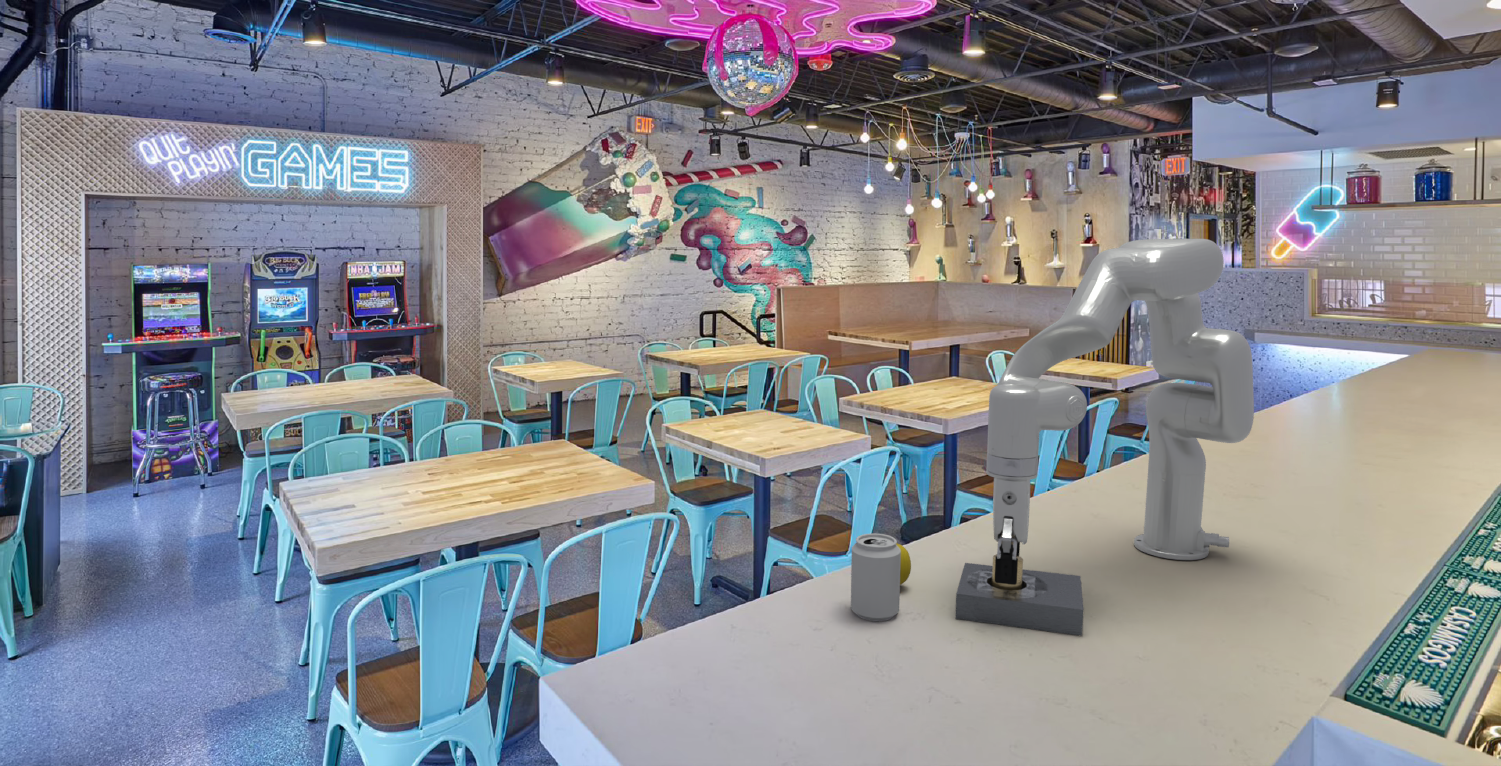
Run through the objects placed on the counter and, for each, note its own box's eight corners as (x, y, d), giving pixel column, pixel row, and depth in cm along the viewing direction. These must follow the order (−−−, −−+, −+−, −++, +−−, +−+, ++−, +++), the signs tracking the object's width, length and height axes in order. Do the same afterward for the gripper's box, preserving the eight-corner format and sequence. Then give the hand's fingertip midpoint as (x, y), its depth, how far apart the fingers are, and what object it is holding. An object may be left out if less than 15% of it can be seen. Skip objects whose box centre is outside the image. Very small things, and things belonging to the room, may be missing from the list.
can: (864, 599, 136) (865, 527, 134) (907, 610, 131) (909, 536, 130) (841, 615, 129) (842, 540, 128) (886, 627, 125) (888, 550, 124)
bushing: (1021, 603, 134) (1023, 554, 133) (1020, 614, 130) (1022, 564, 129) (991, 599, 135) (993, 551, 134) (990, 610, 131) (992, 560, 130)
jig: (1079, 599, 135) (1080, 575, 135) (1082, 635, 122) (1083, 609, 122) (964, 585, 141) (965, 562, 141) (955, 618, 128) (956, 593, 128)
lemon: (873, 582, 143) (874, 536, 142) (905, 581, 143) (906, 536, 142) (881, 595, 137) (882, 548, 136) (914, 593, 138) (915, 547, 137)
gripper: (1036, 481, 120) (1031, 595, 122) (1038, 454, 136) (1033, 556, 139) (982, 476, 122) (977, 589, 125) (990, 451, 139) (986, 551, 141)
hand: (1007, 571), depth 132 cm, fingers open, 9 cm apart
